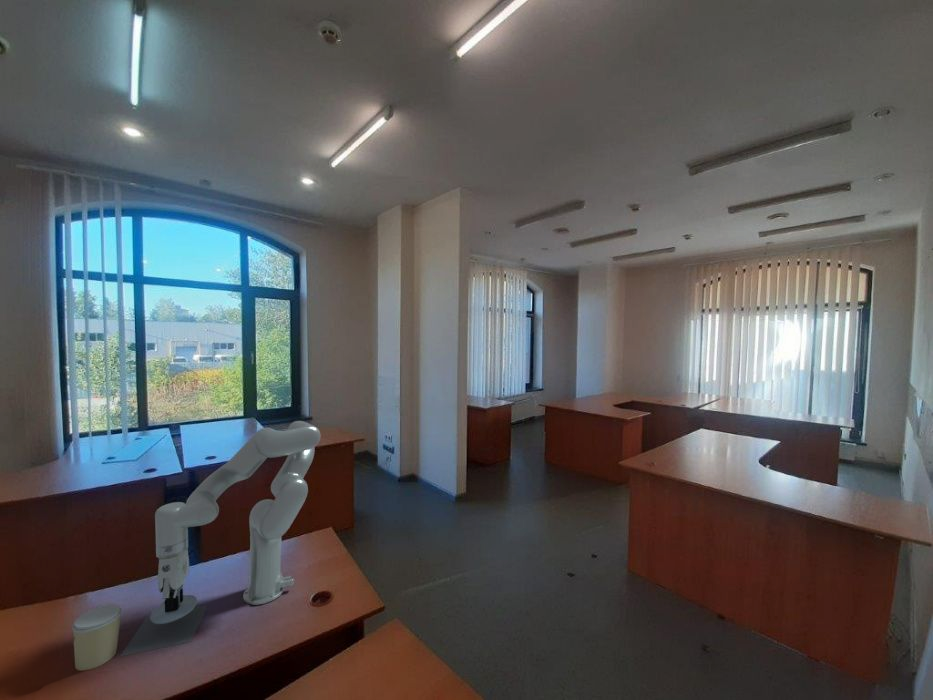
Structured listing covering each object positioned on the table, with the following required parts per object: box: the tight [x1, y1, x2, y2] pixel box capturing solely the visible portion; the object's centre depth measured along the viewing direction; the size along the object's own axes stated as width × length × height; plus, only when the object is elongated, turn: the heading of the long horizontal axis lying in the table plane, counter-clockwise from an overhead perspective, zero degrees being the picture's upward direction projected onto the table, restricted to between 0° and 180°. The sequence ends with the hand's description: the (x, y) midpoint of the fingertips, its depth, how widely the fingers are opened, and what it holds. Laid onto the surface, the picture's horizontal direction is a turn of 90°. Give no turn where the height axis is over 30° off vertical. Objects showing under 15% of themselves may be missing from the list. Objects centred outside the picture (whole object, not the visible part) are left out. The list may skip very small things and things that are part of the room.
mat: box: [119, 604, 209, 657], centre depth 110 cm, size 16×16×1 cm
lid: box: [149, 586, 198, 624], centre depth 111 cm, size 11×11×8 cm
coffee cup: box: [71, 603, 123, 671], centre depth 99 cm, size 9×9×12 cm
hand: (174, 606), depth 111 cm, fingers closed on lid, 2 cm apart
